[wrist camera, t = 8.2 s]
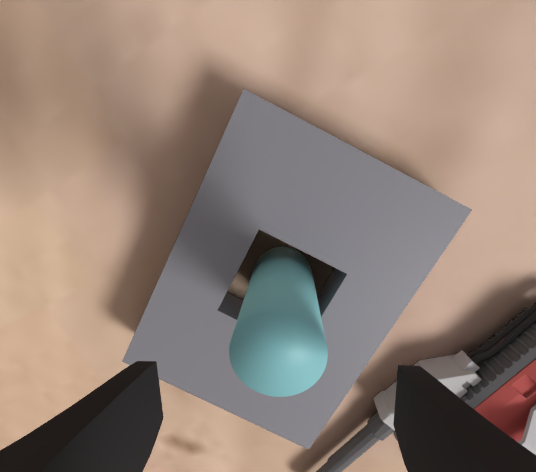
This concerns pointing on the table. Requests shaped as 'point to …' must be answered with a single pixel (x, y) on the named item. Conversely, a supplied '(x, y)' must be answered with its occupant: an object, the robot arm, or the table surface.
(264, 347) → the peg
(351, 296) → the socket board
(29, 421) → the table surface
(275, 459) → the table surface
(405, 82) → the table surface
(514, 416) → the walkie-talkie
